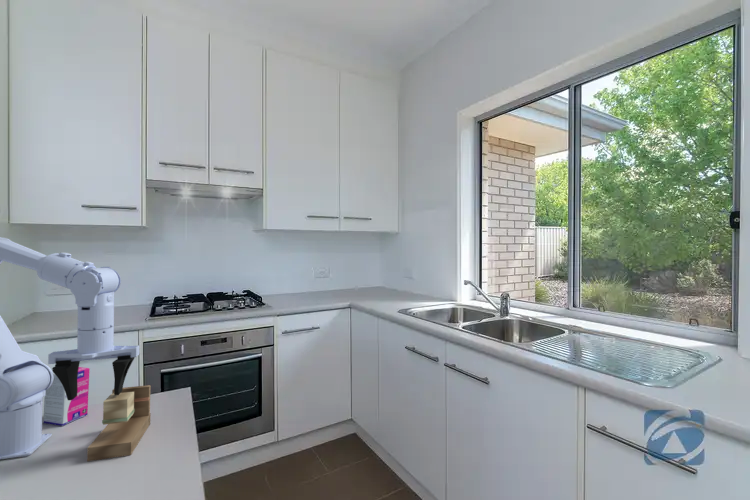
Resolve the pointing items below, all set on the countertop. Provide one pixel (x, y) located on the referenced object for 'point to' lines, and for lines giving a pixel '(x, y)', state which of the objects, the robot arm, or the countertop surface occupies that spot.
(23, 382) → the robot arm
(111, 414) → the green-banded taupe cube
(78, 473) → the countertop surface
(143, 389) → the walnut base
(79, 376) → the supplement box
